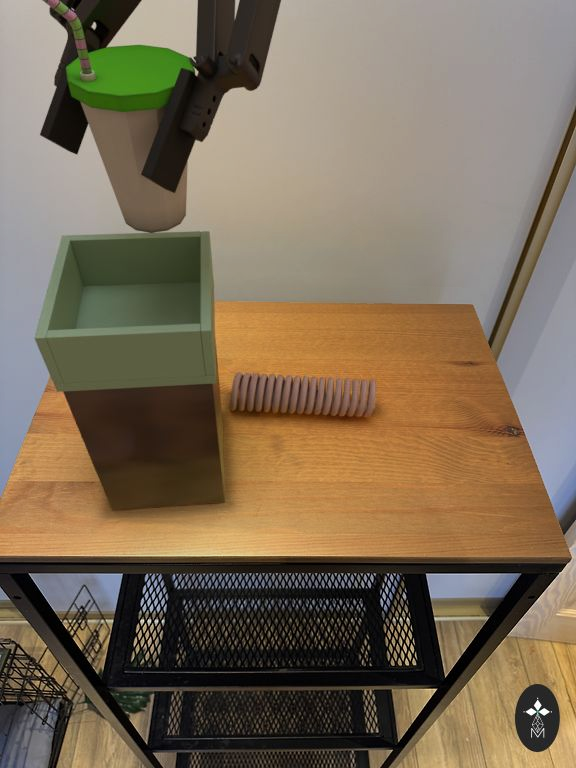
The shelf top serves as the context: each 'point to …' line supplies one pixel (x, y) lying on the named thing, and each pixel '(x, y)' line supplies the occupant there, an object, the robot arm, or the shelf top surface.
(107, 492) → the stand
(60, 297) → the bin
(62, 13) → the cup
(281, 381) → the coil
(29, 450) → the shelf top surface
